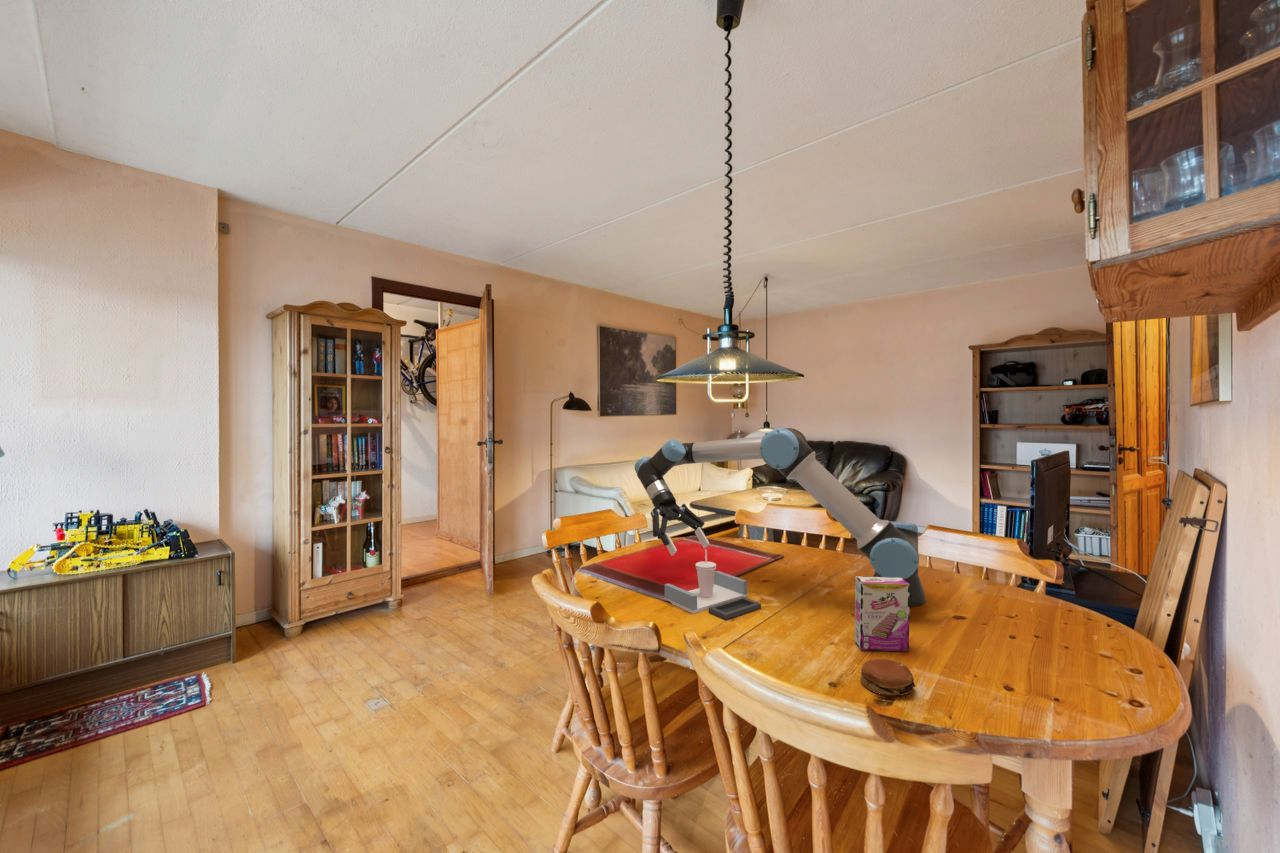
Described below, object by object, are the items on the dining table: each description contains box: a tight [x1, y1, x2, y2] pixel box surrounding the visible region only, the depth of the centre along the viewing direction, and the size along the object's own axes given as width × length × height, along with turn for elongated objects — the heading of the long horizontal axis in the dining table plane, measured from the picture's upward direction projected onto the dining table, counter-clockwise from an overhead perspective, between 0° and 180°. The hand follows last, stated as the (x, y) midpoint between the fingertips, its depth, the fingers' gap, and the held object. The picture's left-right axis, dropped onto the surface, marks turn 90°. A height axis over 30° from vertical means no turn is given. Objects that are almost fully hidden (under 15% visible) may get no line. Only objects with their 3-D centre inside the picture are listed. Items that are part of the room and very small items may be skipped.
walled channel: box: [664, 570, 748, 615], centre depth 155 cm, size 13×22×5 cm, turn 125°
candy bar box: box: [854, 575, 910, 653], centre depth 121 cm, size 11×5×16 cm, turn 84°
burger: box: [860, 658, 916, 696], centre depth 103 cm, size 10×9×5 cm
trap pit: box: [708, 597, 762, 621], centre depth 145 cm, size 7×14×2 cm, turn 125°
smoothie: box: [695, 548, 717, 598], centre depth 155 cm, size 6×6×14 cm
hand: (691, 549), depth 160 cm, fingers open, 13 cm apart
